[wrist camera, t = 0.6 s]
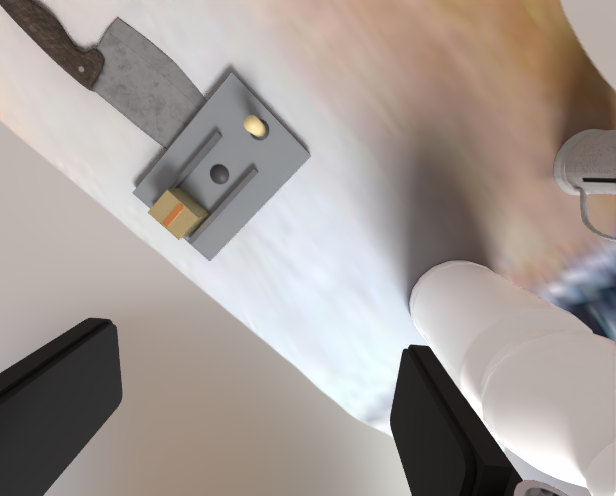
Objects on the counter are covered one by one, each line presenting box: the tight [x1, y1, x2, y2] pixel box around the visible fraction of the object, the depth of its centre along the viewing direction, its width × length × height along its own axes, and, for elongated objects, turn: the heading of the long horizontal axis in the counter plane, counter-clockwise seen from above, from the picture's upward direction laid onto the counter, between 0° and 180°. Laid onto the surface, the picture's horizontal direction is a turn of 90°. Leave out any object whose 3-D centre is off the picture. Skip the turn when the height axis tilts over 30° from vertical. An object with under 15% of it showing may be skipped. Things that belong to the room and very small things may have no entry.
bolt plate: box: [133, 73, 311, 261], centre depth 37 cm, size 14×21×6 cm, turn 135°
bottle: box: [409, 260, 616, 496], centre depth 31 cm, size 14×14×28 cm
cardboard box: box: [148, 188, 209, 240], centre depth 38 cm, size 5×4×4 cm
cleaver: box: [0, 0, 207, 149], centre depth 36 cm, size 29×10×2 cm, turn 51°
